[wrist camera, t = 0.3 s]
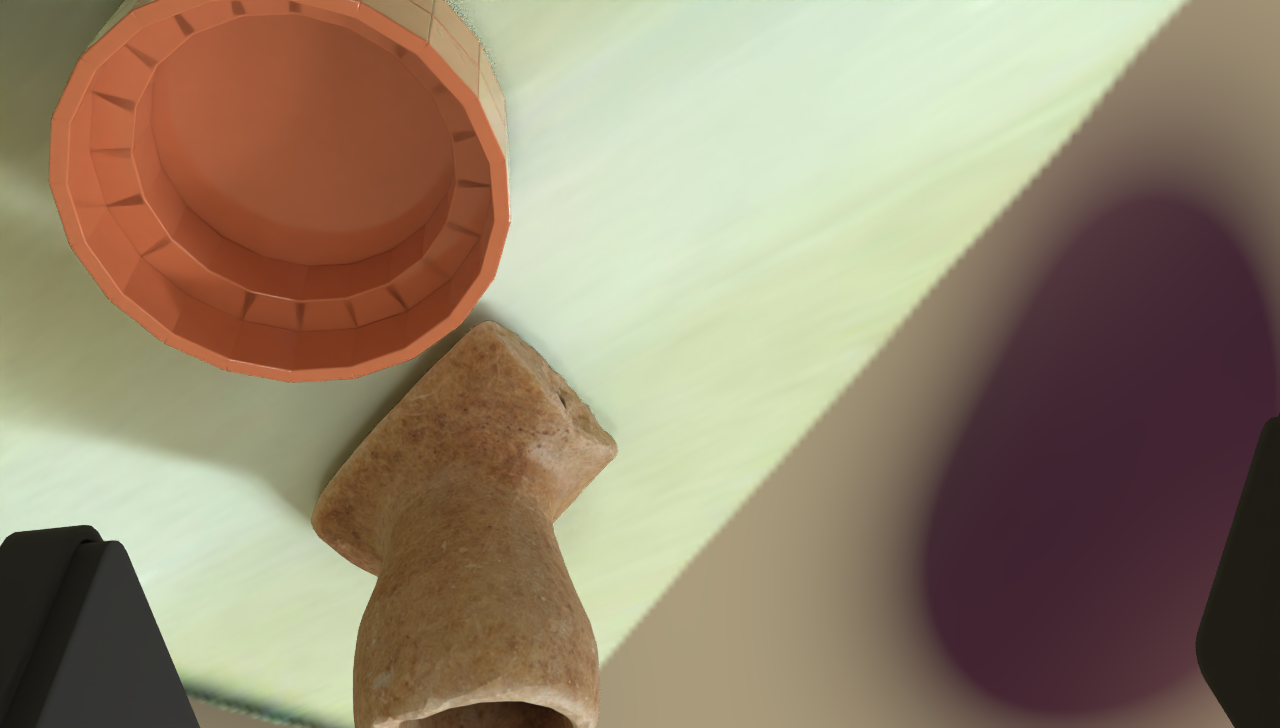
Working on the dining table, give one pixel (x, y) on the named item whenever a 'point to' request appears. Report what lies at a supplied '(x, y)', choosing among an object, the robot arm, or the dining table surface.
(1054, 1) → the dining table surface
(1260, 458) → the robot arm
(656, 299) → the dining table surface
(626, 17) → the dining table surface
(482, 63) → the bowl
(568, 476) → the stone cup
